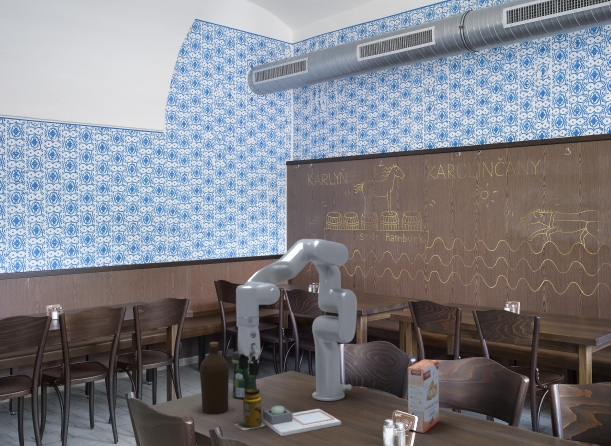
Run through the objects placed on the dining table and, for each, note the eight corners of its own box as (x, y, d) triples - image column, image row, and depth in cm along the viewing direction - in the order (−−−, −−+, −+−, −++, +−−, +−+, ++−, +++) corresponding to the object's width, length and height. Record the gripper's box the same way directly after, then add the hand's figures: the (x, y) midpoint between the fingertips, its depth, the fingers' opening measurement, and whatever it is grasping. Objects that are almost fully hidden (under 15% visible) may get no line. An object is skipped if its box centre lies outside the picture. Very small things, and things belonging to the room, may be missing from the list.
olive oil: (227, 414, 225) (226, 345, 224) (198, 415, 225) (196, 345, 225) (231, 405, 235) (230, 339, 235) (203, 406, 235) (201, 340, 235)
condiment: (266, 425, 212) (265, 390, 212) (244, 431, 207) (243, 394, 207) (255, 420, 218) (255, 386, 218) (233, 425, 213) (233, 390, 213)
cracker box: (425, 434, 200) (424, 369, 200) (407, 431, 204) (406, 367, 203) (440, 421, 212) (439, 360, 212) (423, 418, 216) (422, 358, 215)
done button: (280, 413, 217) (280, 405, 217) (286, 417, 213) (286, 408, 213) (269, 415, 215) (269, 406, 215) (274, 419, 211) (274, 410, 211)
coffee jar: (243, 391, 254) (242, 346, 254) (259, 393, 250) (258, 347, 250) (229, 397, 246) (228, 350, 246) (246, 400, 242) (244, 352, 242)
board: (319, 411, 226) (318, 400, 226) (340, 424, 211) (340, 412, 211) (262, 422, 216) (262, 410, 216) (281, 436, 201) (281, 423, 201)
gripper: (267, 324, 206) (268, 375, 206) (248, 317, 222) (249, 365, 222) (246, 326, 203) (247, 378, 203) (228, 318, 218) (229, 367, 219)
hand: (248, 371), depth 212 cm, fingers open, 9 cm apart
